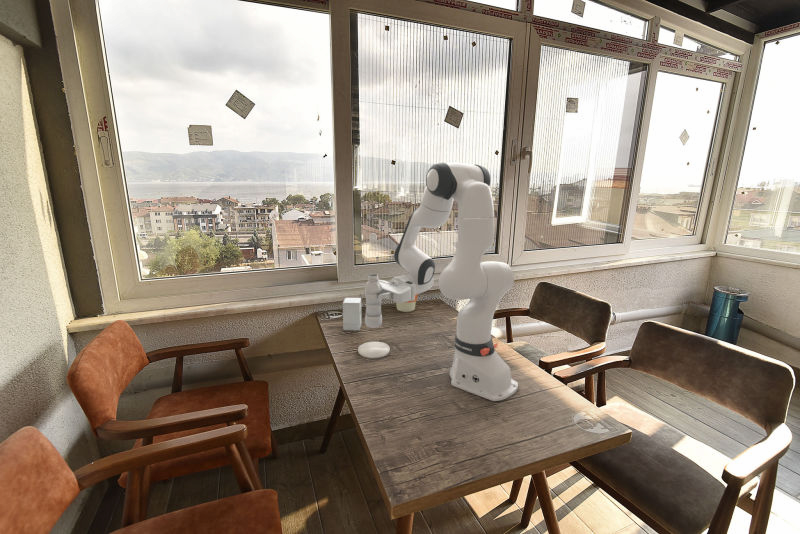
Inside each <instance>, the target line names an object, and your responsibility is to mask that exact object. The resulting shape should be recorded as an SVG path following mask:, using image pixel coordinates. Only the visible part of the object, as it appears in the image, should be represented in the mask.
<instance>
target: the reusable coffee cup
mask: <svg viewBox="0 0 800 534" xmlns="http://www.w3.org/2000/svg"><path fill="white" fill-rule="evenodd" d="M418 295H419V294H416V295H415V300H414V301H408V302H403V303H398V302H396V301H395V302H396V303H395V304H396V310H397V311H399V312H404V313H405V312H406V313H408V312H413V311H414V310H415V309H416V303H417V300H418Z"/></svg>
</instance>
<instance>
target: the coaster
mask: <svg viewBox="0 0 800 534" xmlns="http://www.w3.org/2000/svg"><path fill="white" fill-rule="evenodd" d="M390 349H391V348H390V346H389V344H387V343H385V342H383V341H381V342H380V341H368V342H364V343H362V344H360V345H359V346H358V348H357V351H358V355H360V356H362V357H364V358H368V359H380V358H383V357H386V356H388V355H389V354H390V351H391V350H390Z"/></svg>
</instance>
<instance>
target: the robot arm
mask: <svg viewBox="0 0 800 534" xmlns="http://www.w3.org/2000/svg"><path fill="white" fill-rule="evenodd" d="M425 185H426V186H425V187H424V188H425V189H424V191H423V194H422V198H421V203H420V205H419V207H418V208H417V209H415V210H414V211H412V213H411V214H410V216H409V218H408V220H407V223H406V226H405V228H404V230H403V234H402V236H401V239H400V241H399V243H398V244H397V246H396V248H395V250H394V252H393V253H394V254H393V256H394V262H395V263H396V264H397V265H399V266H401V267H402V268H404V269H405V270H406V271H407V274H402V275H399V276H394V277H392V278H391V279H390V281H388V280H384V279H379V281H378V282H379V283H380V285H381V286H382V289H383V290H382V294H381V293H380V294H377V299H379V300H381V301H382V300H391V301H393V302H398V303H403V302H408V301H414V300H415V295H416V294H418V295H419V294H423V293H424V292H427V291H428V290H430V289H431V288H432V287H433V285H434V282H435V278H434V275H435V271H436V262H435V260H434V259H433V258H432V257H430V256H429V255H428V254H427V253H425V252H423V251H422V250H421V249H419V247H418V246H417V245H416V240H417V238H418V235H419V234H420V231H421V229H422V228H424V229H437V228H440V227H442V226H443V225H445V224H446V223H447V222H448V220H449V218H450V215H451V212H452V208H453V203H454V200H455V202H456V205H457V241H456V248H455V251H454V254H453V257H452V258H451V260H450V262H449V263H448V264H447V266H446V267H444V268H443V270H442V271H441V272H440V274H439V277H438V288H439V291H440V292H441V294H442V295H443V297H444V298H446V299H448V300H456V301H457V300H459V301H463V300H468V302H467V303H466V304H465V305H464V306H462V308H461V309H460V310H459V311H458V313H457V317H456V318H457V319H456V320H457V321H456V334H455V335H454V349H455V350H454V356H453V361H452V365H451V368H450V371H449V376H450V379H451V383H450V384H451V386H453V387H455V388H457V389H460V390H463V391H465V392H468V393H471V394H473V395H476V396H477V397H482V398H484V399H487V400H489V401H491V402H498V401H504V400H505V399H508V398H510V397H511V396H513V395H514V394H516V393H517V391H518V389H519V382H518V381H516V380H514V379H513V378H512V374H511V373H512V372H511V368H510V366H509V365H508V364H507V363H506V361H504V360H503V359H502V357H501V356H500V355H499V354H498V352H497V351H496V348H497V347H498V344H499V343H498V342H496V343H495V344H494V341H493V339H492V328H493V321H494V320H493V319H494V315H495V312H496V311H497V308H498V306H499V303H500V302H501V301H502V298H503V297H504V295H506V293H508V292H509V291H510V290H511V289H512V288H513V285H514V283H515V275H514V274H515V273H514V271H513V269H512V267H511V266H510V264H508V263H506V262H501V261H494V260H492V261H491V260H490V261H482V258H483V256H484V254H485V253H486V252H487V250H489V249H490V248H492V246H493V245H494V244H495V206H494V200H493V199H494V198H493V195H492V189H491V187H490V185H491V174H490V172H489V170H488V169H487V167H485V166H483V165H479V164H470V163H463V162H438V163H435V164H432V165H431V166H430V167H429V168H428V170H427V173H426V175H425ZM368 282H369V281H367V282H366V284H367V283H368Z"/></svg>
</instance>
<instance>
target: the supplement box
mask: <svg viewBox="0 0 800 534" xmlns="http://www.w3.org/2000/svg"><path fill="white" fill-rule="evenodd" d="M342 323H343V324H342V326H343V327H342V330H343V331H357V330H358V331H361V326H362V297H345V298H344V299H343V302H342Z"/></svg>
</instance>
